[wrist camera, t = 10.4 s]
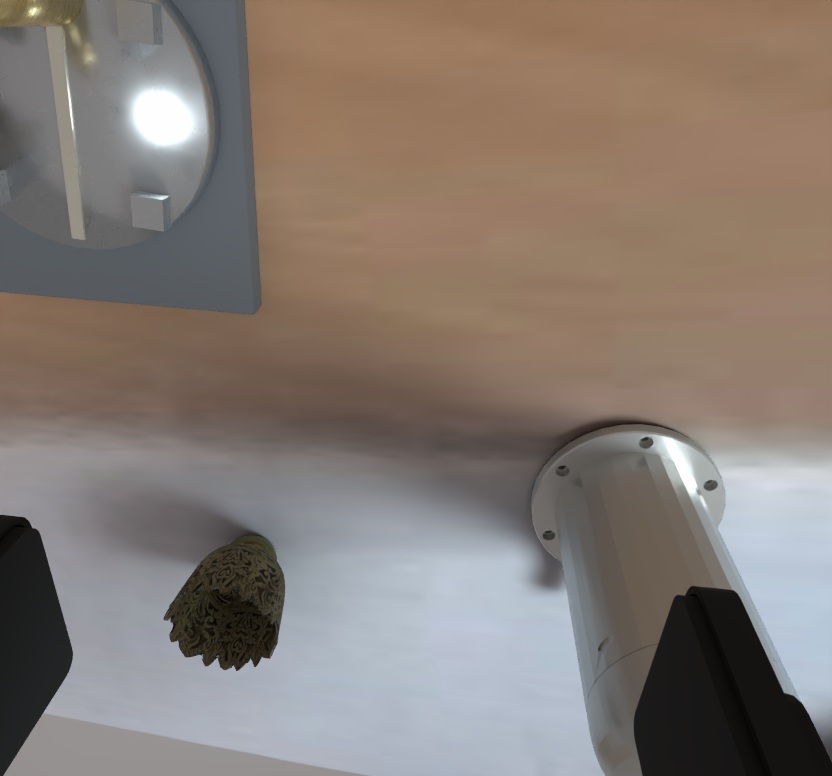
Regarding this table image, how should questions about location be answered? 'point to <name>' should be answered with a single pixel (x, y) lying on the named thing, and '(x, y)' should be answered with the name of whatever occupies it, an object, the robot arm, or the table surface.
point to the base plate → (190, 235)
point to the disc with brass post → (103, 119)
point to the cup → (231, 605)
